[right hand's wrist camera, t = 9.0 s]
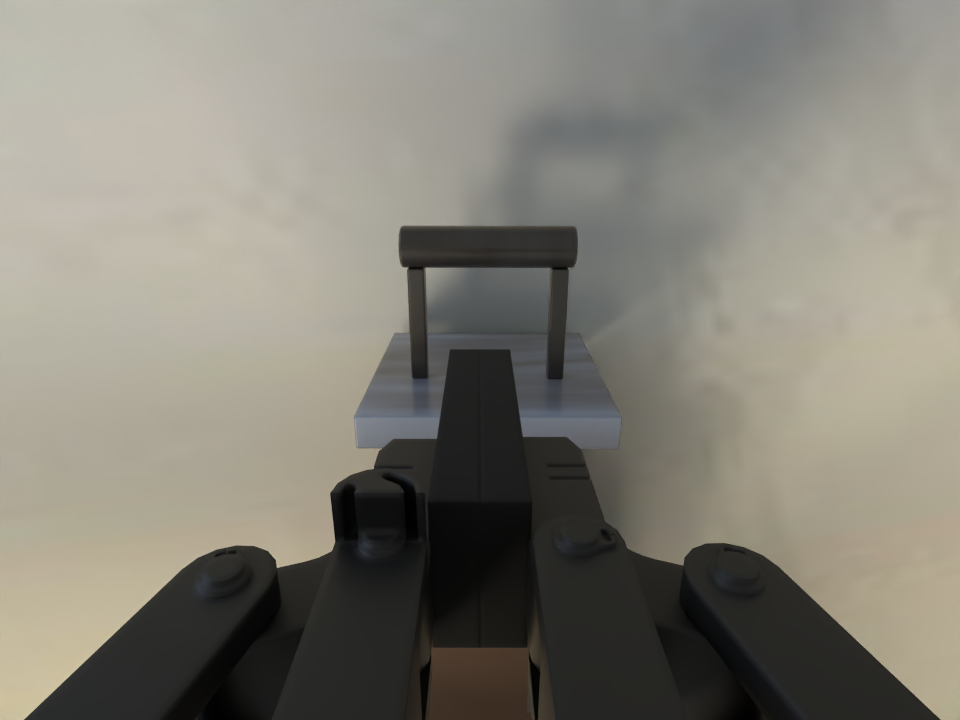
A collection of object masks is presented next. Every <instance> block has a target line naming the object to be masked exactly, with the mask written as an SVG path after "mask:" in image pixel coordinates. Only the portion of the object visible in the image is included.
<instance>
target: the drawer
mask: <svg viewBox="0 0 960 720" xmlns="http://www.w3.org/2000/svg"><path fill="white" fill-rule="evenodd" d="M577 252H578V236H577V230H576V227H574V226H402V227H401V228H400V232H399V258H400V263H401V265H402V267H409V268H408V270H407V279H408V302H409V325H410V333H394V335H393V337H392V339H391V341H390V343H389V345H388V347H387V350H386V352H385V354H384V356H383V358H382V360H381V362H380V364H379V366H378V368H377V370H376V372H375V374H374V376H373V379H372V381H371V383H370V385H369V387H368V389H367V391H366V393H365V395H364V397H363V399H362V401H361V403H360V405H359V407H358V410H357V412H356V414H355V416H354V424H355V436H356V447H357V448H383V447H385V446H386V445H387V444H388V443H389V442H390V441H391V440H393V439H437V434H438V428H439V421H440V414H441V407H442V400H443V393H444V387H445V380H446V373H447V366H448V359H449V352H450V349H510V352H511V359H512V366H513V373H514V380H515V387H516V393H517V400H518V407H519V414H520V421H521V428H522V434H523V437H567V438H569V439H570V440H571V441H572V442H573V443H574V444H575V445H576V446H578V447H579V448H580V449H619V443H620V433H621V422H622V417H621V415H620V413H619V411H618V409H617V407H616V405H615V403H614V401H613V399H612V397H611V395H610V393H609V391H608V389H607V387H606V385H605V383H604V381H603V379H602V377H601V375H600V374H599V372H598V370H597V368H596V366H595V364H594V362H593V360H592V358H591V356H590V354H589V352H588V350H587V348H586V346H585V344H584V342H583V340H582V338H581V336H580V334H565V333H566V315H567V297H568V278H569V270H568V268H573V267H574V266H575V264H576V260H577ZM425 268H550V290H549V313H548V333H427V303H426V272H425ZM581 451H582V450H581ZM582 454H583V453H582ZM583 457H584V456H583ZM584 460H585V459H584ZM585 463H586V462H585ZM586 467H587V465H586ZM590 480H591V478H590Z"/></svg>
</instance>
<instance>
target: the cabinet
mask: <svg viewBox="0 0 960 720" xmlns="http://www.w3.org/2000/svg"><path fill="white" fill-rule="evenodd" d="M528 660H529V646H528V636H527V648H433V639H432V649H431V661H432V685H431V697H430V709H429V720H532V719H531V714H526V712H527V686H528Z"/></svg>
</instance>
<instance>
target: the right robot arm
mask: <svg viewBox="0 0 960 720" xmlns="http://www.w3.org/2000/svg"><path fill="white" fill-rule="evenodd" d="M330 494H331V504H332V513H333V523H334V532H335V545H334V548H333V550H332V552H330V553H328V554H326V555H324V556H321V557H319V558H316V559H313V560H310V561H306V562H302V563H298V564H293V565H289V566H284V567H280V568H277V566H276V560H275V559H274V558H273V557H272V556H271V554H270V553H269V552H268V551H266V550H263V549H260V548H258V547H255V546H232V547H228V548H223V549H218V550H215V551H213V552H211V553H208V554H206V555H204V556H201V557H199V558H197V559H196V560H194V561H193V562H192V563H190V564H189V565H188V566H186V567H185V568H184V569H182V570H181V571H180V572H179V573H178V574H177V575H176V576H175V577H174V578H173V579H172V580H171V581H170V582H168V583H167V584H166V585H165V586H164V587H163V588H162V589H161V590H160V591H159V592H158V593H157V594H156V595H155V596H154V597H153V598H152V599H151V600H150V601H148V602H147V603H146V604H145V605H144V606H143V607H142V608H141V609H140V610H139V611H138V612H137V613H136V614H135V615H134V616H133V617H132V618H131V619H130V620H129V621H127V622H126V623H125V624H124V625H123V626H122V627H121V628H120V629H119V630H118V631H117V632H116V633H115V634H114V635H113V636H112V637H111V638H110V639H109V640H107V641H106V642H105V643H104V644H103V645H102V646H101V647H100V648H99V649H98V650H97V651H96V652H95V653H94V654H93V655H92V656H91V657H90V658H89V659H88V660H86V661H85V662H84V663H83V664H82V665H81V666H80V667H79V668H78V669H77V670H76V671H75V672H74V673H73V674H72V675H71V676H70V677H69V678H68V679H66V680H65V681H64V682H63V683H62V684H61V685H60V686H59V687H58V688H57V689H56V690H55V691H54V692H53V693H52V694H51V695H50V696H49V697H48V698H47V699H45V700H44V701H43V702H42V703H41V704H40V705H39V706H38V707H37V708H36V709H35V710H34V711H33V712H32V713H31V714H30V715H29V716H28V717H27V718H25V719H24V720H429V709H430V697H431V685H432V661H431V649H432V639H433V648H527V636H528V646H529V660H528V686H527V712H526V714H531V719H532V720H940V719H939V718H938V717H937V716H936V715H935V714H934V713H933V712H932V711H931V710H930V709H928V708H927V707H926V706H925V705H924V704H923V703H922V702H921V701H920V700H919V699H918V698H917V697H916V696H915V695H914V694H913V693H912V692H910V691H909V690H908V689H907V688H906V687H905V686H904V685H903V684H902V683H901V682H900V681H899V680H898V679H897V678H896V677H895V676H894V675H892V674H891V673H890V672H889V671H888V670H887V669H886V668H885V667H884V666H883V665H882V664H881V663H880V662H879V661H878V660H877V659H876V658H874V657H873V656H872V655H871V654H870V653H869V652H868V651H867V650H866V649H865V648H864V647H863V646H862V645H861V644H860V643H859V642H858V641H856V640H855V639H854V638H853V637H852V636H851V635H850V634H849V633H848V632H847V631H846V630H845V629H844V628H843V627H842V626H841V625H840V624H838V623H837V622H836V621H835V620H834V619H833V618H832V617H831V616H830V615H829V614H828V613H827V612H826V611H825V610H824V609H823V608H821V607H820V606H819V605H818V604H817V603H816V602H815V601H814V600H813V599H812V598H811V597H810V596H809V595H808V594H807V593H806V592H805V591H803V590H802V589H801V588H800V587H799V586H798V585H797V584H796V583H795V582H794V581H793V580H792V579H791V578H790V577H789V576H788V575H787V574H785V573H784V572H783V571H782V570H781V569H780V568H779V567H778V566H777V565H775V564H774V563H772V562H771V561H770V560H768V559H767V558H765V557H764V556H763V555H761V554H758V553H756V552H754V551H751V550H749V549H747V548H744V547H740V546H735V545H731V544H726V543H712V544H704V545H701V546H699V547H696V548H693V549H692V550H691V551H690V552H689V553H688V555H687V556H686V557H685V560H684V566H682V565H678V564H673V563H669V562H664V561H660V560H655V559H652V558H649V557H645V556H642V555H640V554H637V553H635V552H633V551H631V550H629V549H627V547H626V544H625V541H624V540H623V538H622V537H621V535H620V534H619V532H618V531H617V530H616V529H615V528H613V527H612V526H610V525H609V524H607V523H606V522H605V520H604V517H603V514H602V511H601V508H600V505H599V502H598V499H597V496H596V493H595V490H594V487H593V484H592V481H591V480H590V475H589V472H588V469H587V467H586V463H585V460H584V457H583V454H582V451H581V449H580V448H579V447H578V446H576V445H575V444H574V443H573V442H572V441H571V440H570V439H569V438H567V437H523V434H522V428H521V421H520V414H519V407H518V400H517V393H516V387H515V380H514V373H513V366H512V359H511V352H510V349H450V352H449V359H448V366H447V373H446V380H445V387H444V393H443V400H442V407H441V414H440V421H439V428H438V434H437V439H393V440H391V441H390V442H389V443H388V444H387V445H386V446H385V447H383V448H382V449H381V450H380V451H379V453H378V456H377V459H376V462H375V465H374V469H372V470H366V471H362V472H359V473H356V474H353V475H350V476H349V477H347V478H346V479H344V480H342V481H341V482H339V483H338V484H337V485H336V486H335V488H334V489H333V490H332V492H331V493H330Z"/></svg>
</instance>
